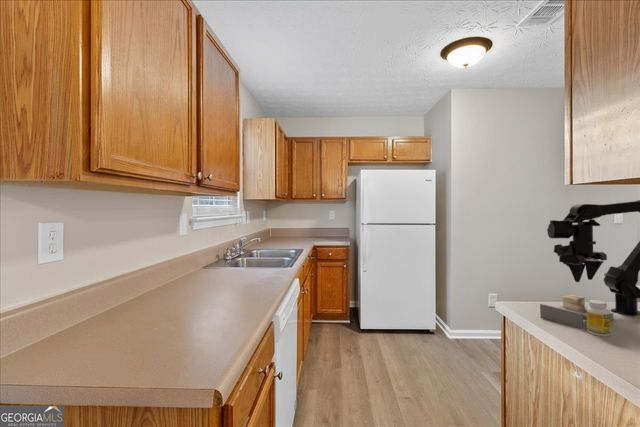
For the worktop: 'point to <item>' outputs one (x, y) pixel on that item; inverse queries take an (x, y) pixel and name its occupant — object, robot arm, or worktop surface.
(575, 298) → the maple block
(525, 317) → the worktop surface
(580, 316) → the trap board
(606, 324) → the supplement bottle
